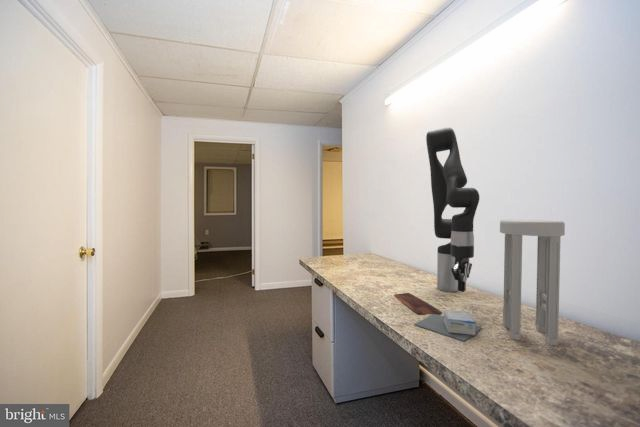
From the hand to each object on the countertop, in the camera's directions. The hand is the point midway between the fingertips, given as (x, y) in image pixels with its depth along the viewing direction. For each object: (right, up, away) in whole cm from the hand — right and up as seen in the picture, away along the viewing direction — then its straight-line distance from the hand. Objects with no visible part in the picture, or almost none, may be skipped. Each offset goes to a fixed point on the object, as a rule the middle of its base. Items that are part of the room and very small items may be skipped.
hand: (461, 290), depth 107 cm
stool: (+13, -9, -16) cm, 23 cm away
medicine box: (-6, -6, -9) cm, 12 cm away
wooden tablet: (-13, -9, +13) cm, 20 cm away
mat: (-10, -9, -11) cm, 17 cm away
